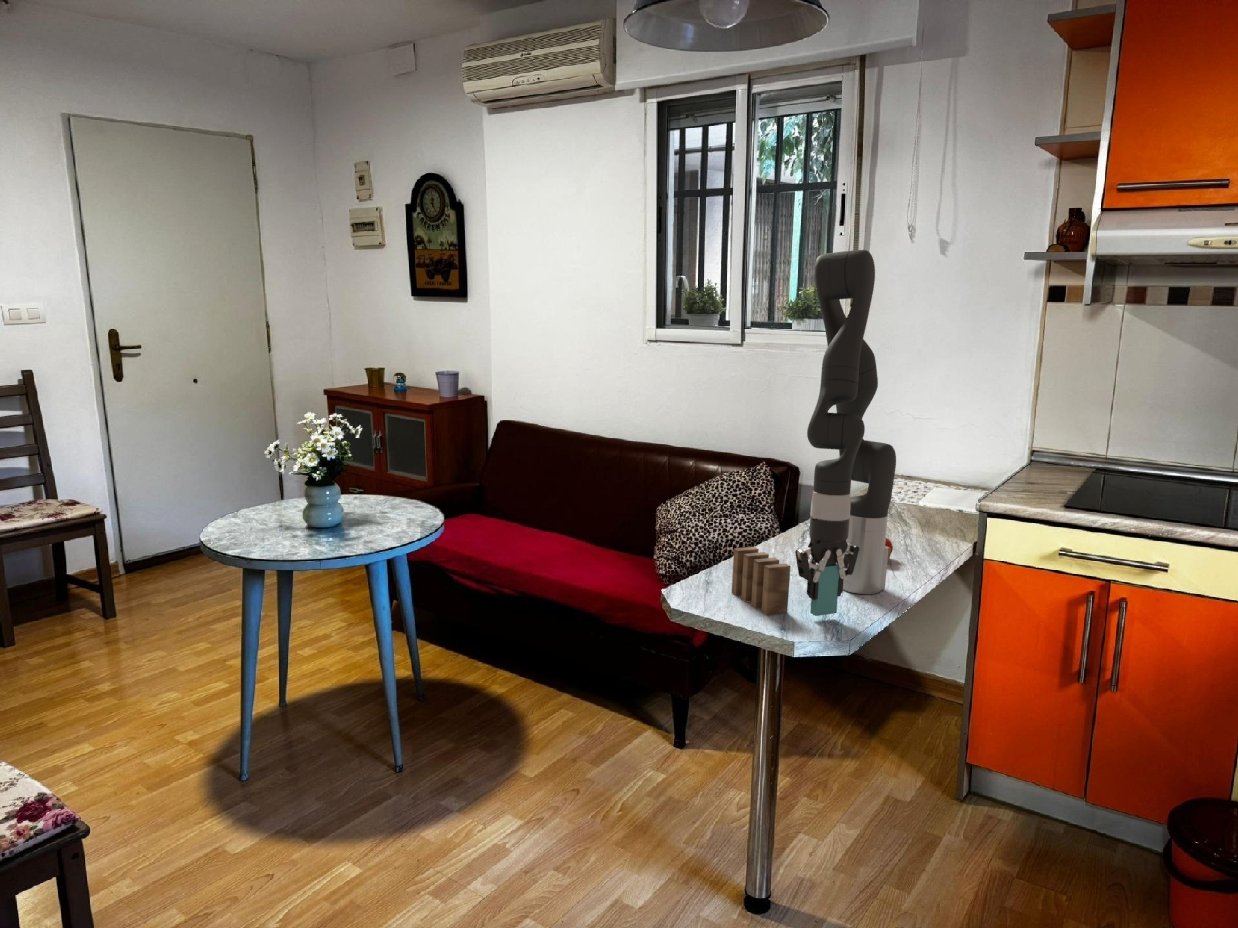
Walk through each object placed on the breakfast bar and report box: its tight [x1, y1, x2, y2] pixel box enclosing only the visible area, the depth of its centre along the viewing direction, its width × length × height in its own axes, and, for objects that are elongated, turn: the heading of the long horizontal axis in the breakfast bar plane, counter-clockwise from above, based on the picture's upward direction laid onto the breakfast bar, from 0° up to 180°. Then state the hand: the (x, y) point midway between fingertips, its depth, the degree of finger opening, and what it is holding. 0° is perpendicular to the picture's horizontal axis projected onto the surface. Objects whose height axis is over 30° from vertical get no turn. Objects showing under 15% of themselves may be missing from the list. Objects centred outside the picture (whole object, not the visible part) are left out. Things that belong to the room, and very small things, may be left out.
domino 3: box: [750, 557, 780, 610], centre depth 177 cm, size 5×2×10 cm, turn 111°
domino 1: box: [731, 546, 759, 596], centre depth 184 cm, size 5×2×10 cm, turn 111°
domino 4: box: [761, 562, 791, 616], centre depth 173 cm, size 5×2×10 cm, turn 111°
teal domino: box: [809, 563, 839, 617], centre depth 170 cm, size 5×2×10 cm, turn 112°
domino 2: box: [740, 551, 770, 602], centre depth 181 cm, size 5×2×10 cm, turn 111°
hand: (824, 596), depth 170 cm, fingers closed on teal domino, 5 cm apart
